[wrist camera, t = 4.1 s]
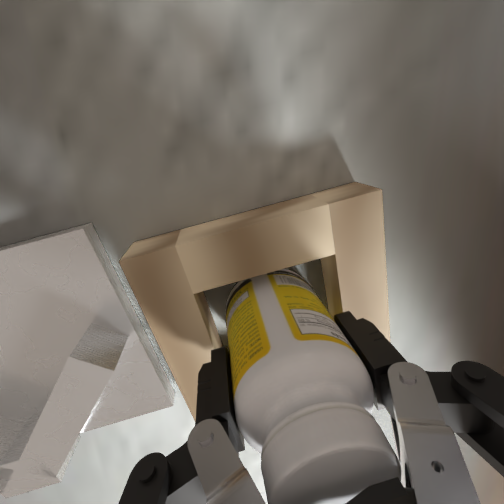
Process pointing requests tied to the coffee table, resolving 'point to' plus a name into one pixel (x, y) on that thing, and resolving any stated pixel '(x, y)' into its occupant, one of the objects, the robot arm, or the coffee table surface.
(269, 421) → the supplement bottle
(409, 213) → the coffee table surface
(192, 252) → the square frame block
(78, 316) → the v block
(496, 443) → the robot arm
